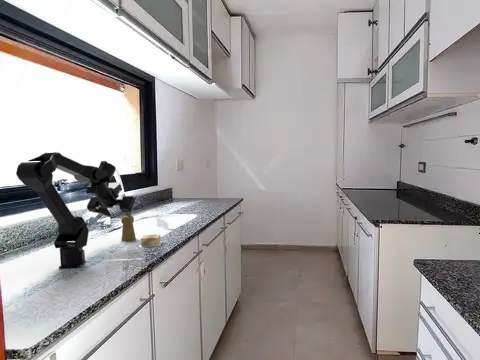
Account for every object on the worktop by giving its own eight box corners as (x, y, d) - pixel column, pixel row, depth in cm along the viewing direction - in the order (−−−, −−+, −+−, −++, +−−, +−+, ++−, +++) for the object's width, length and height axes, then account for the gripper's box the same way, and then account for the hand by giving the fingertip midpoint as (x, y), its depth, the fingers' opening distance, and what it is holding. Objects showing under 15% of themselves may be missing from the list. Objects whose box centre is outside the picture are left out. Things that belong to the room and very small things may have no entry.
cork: (131, 243, 151) (130, 216, 151) (118, 243, 152) (117, 216, 152) (138, 239, 157) (137, 214, 156) (125, 239, 158) (124, 214, 158)
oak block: (141, 246, 142) (140, 238, 142) (144, 242, 149) (143, 235, 148) (158, 245, 143) (157, 237, 142) (160, 241, 149) (160, 234, 149)
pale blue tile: (127, 250, 140) (127, 248, 140) (133, 243, 151) (133, 241, 151) (159, 248, 140) (159, 246, 140) (163, 241, 151) (163, 240, 151)
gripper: (131, 175, 141) (147, 200, 152) (89, 176, 145) (107, 200, 156) (121, 198, 133) (138, 222, 145) (77, 198, 138) (97, 222, 149)
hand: (120, 216), depth 149 cm, fingers open, 9 cm apart
